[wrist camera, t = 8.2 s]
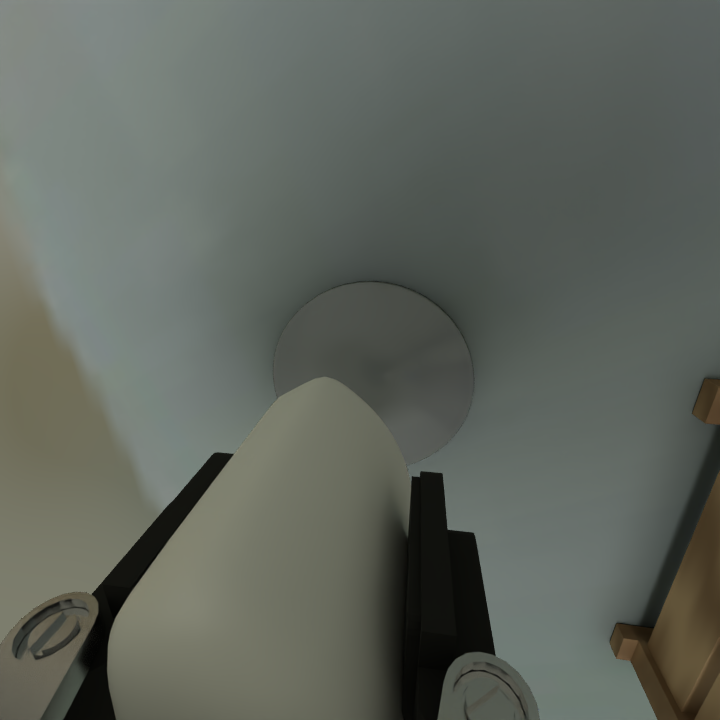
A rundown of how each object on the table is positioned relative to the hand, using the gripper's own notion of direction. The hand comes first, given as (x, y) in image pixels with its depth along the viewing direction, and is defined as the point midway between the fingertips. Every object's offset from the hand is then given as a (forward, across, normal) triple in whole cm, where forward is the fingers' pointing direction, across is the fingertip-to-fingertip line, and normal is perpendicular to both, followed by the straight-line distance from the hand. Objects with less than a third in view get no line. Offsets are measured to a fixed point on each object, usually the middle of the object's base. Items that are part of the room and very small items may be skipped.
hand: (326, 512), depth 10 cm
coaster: (+8, 0, 0) cm, 8 cm away
